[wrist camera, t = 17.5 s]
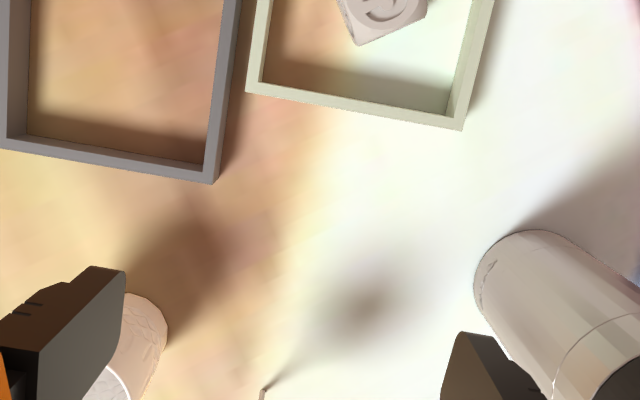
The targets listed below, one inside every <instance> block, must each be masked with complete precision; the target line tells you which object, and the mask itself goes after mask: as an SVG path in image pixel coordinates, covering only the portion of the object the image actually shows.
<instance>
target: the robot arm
mask: <svg viewBox="0 0 640 400" xmlns="http://www.w3.org/2000/svg"><path fill="white" fill-rule="evenodd" d="M125 285H126V275H125V272H124V271H120V270H114V269H108V268H103V267H97V266H89V267H88V268H87V269H85V270H84V271H83V272H82V273H81V274H79V275H78V276H77V277H76V278H75V279H73V280H72V281H71V282H70V283H65V282H60V283H57V284H54V285H52V286H49V287H46V288H43V289H41V290H39V291H38V292H36V293H35V294H34V295H32V296H31V297H30V298H29V299H27V300H26V301H25V303H24V304H21V305H20V306H18V307H17V308H16V309H14V310H13V312H12V314H11V313H9V314H8V315H7V316H5V317H4V318H3V319H1V320H0V400H82V399H83V397H84V396H85V395H86V393H87V392H88V391H89V389H90V388H91V386H92V385H93V384H94V382H95V381H96V380H97V378H98V377H99V375H100V374H101V373H102V371H103V370H104V369H105V367H106V366H107V364H108V363H109V362H110V360H111V359H112V357H113V355H114V353H115V351H116V348H117V345H118V342H119V338H120V333H121V324H122V314H123V305H124V295H125ZM473 289H474V298H475V301H476V304H477V307H478V308H479V310H480V312H481V313H482V315H483V316H484V318H485V319H486V321H487V322H488V324H489V325H490V327H491V328H492V329H493V331H494V332H495V334H496V336H497V337H498V339H499V340H500V341H501V343H502V344H503V346H504V347H505V349H506V350H507V352H508V353H509V355H510V356H511V357H512V359H513V360H514V361H511V360H508V358H507V357H506V355H505V354H504V352H503V351H502V349H501V348H500V346H499V345H498V343H497V341H496V340H495V339H494V338H493V337H492V336H486V335H480V334H475V333H469V332H463V331H461V332H460V333H459V334H458V335H457V337H456V339H455V342H454V346H453V349H452V353H451V356H450V360H449V363H448V367H447V370H446V374H445V377H444V380H443V384H442V388H441V393H440V400H640V287H638V286H637V285H635V284H634V283H632V282H630V281H629V280H627V279H626V278H624V277H623V276H621V275H620V274H618V273H617V272H615V271H614V270H612V269H611V268H609V267H608V266H606V265H605V264H603V263H602V262H600V261H599V260H597V259H596V258H594V257H593V256H591V255H590V254H588V253H587V252H585V251H584V250H582V249H581V248H579V247H578V246H576V245H575V244H573V243H571V242H570V241H568V240H567V239H565V238H564V237H562V236H560V235H558V234H555V233H553V232H549V231H544V230H526V231H522V232H517V233H514V234H512V235H510V236H507V237H505V238H503V239H502V240H501V241H499V242H498V243H496V244H495V245H494V246H493V247H492V248H491V249H490V250H489V251H488V252H487V253H486V254H485V255H484V257H483V258H482V260H481V261H480V263H479V265H478V268H477V270H476V273H475V277H474V283H473Z"/></svg>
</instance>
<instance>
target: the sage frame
mask: <svg viewBox="0 0 640 400" xmlns="http://www.w3.org/2000/svg"><path fill="white" fill-rule="evenodd" d="M273 1H274V0H257V7H256V14H255V21H254V29H253V36H252V43H251V50H250V57H249V64H248V71H247V79H246V86H245V92H249V93H254V94H260V95H265V96H271V97H276V98H282V99H287V100H293V101H298V102H304V103H309V104H315V105H320V106H326V107H331V108H336V109H342V110H347V111H353V112H358V113H364V114H369V115H375V116H380V117H386V118H391V119H397V120H402V121H408V122H413V123H418V124H424V125H429V126H435V127H440V128H446V129H451V130H457V131H462V130H463V126H464V121H465V117H466V113H467V109H468V105H469V101H470V97H471V93H472V89H473V85H474V81H475V77H476V73H477V69H478V65H479V61H480V57H481V53H482V49H483V45H484V41H485V37H486V33H487V29H488V25H489V21H490V17H491V13H492V9H493V5H494V1H495V0H472V4H471V9H470V13H469V17H468V21H467V25H466V30H465V34H464V38H463V42H462V46H461V51H460V55H459V59H458V63H457V67H456V71H455V76H454V80H453V84H452V88H451V92H450V97H449V101H448V105H447V109H446V113H445V115H440V114H434V113H429V112H423V111H418V110H412V109H407V108H402V107H396V106H391V105H385V104H380V103H374V102H369V101H364V100H358V99H353V98H347V97H342V96H336V95H331V94H326V93H320V92H315V91H309V90H304V89H298V88H293V87H288V86H282V85H277V84H271V83H266V82H262V76H263V69H264V62H265V56H266V49H267V42H268V35H269V29H270V22H271V15H272V8H273Z"/></svg>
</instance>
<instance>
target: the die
mask: <svg viewBox="0 0 640 400" xmlns="http://www.w3.org/2000/svg"><path fill="white" fill-rule="evenodd" d="M336 1H337V4H338V6H339V9H340V12H341V15H342V17H343V20H344V22H345V25H346V27H347V29H348V32H349V34H350V36H351V38H352V40H353V42H354V43H355V45H357V46H361V45H364V44H366V43H369V42H371V41H374V40H376V39H378V38H381V37H383V36H385V35H387V34H390V33H392V32H394V31H397V30H399V29H401V28H403V27H406V26H408V25H410V24H412V23H414V22H417V21H419V20H421V19H423V18H425V16H426V14H427V0H336Z"/></svg>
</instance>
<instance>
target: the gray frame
mask: <svg viewBox="0 0 640 400" xmlns="http://www.w3.org/2000/svg"><path fill="white" fill-rule="evenodd" d="M241 7H242V0H224V4H223V12H222V20H221V28H220V36H219V44H218V52H217V60H216V68H215V76H214V84H213V92H212V100H211V108H210V116H209V124H208V132H207V140H206V148H205V156H204V164H203V165H200V164H194V163H188V162H183V161H177V160H171V159H165V158H160V157H154V156H148V155H143V154H137V153H131V152H125V151H120V150H114V149H108V148H103V147H97V146H91V145H85V144H80V143H74V142H68V141H63V140H57V139H51V138H45V137H40V136H34V135H28V134H26V129H27V101H28V74H29V46H30V18H31V0H0V148H2V149H7V150H13V151H19V152H25V153H31V154H36V155H42V156H48V157H54V158H59V159H65V160H71V161H77V162H83V163H88V164H94V165H100V166H106V167H111V168H117V169H123V170H129V171H135V172H140V173H146V174H152V175H158V176H163V177H169V178H175V179H181V180H186V181H192V182H198V183H204V184H210V185H212V184H213V183H214V182H215V181H216V180H217V179H218V178H219V172H220V164H221V157H222V149H223V142H224V134H225V127H226V119H227V112H228V104H229V97H230V89H231V82H232V74H233V67H234V59H235V52H236V44H237V37H238V29H239V22H240V14H241Z"/></svg>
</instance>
